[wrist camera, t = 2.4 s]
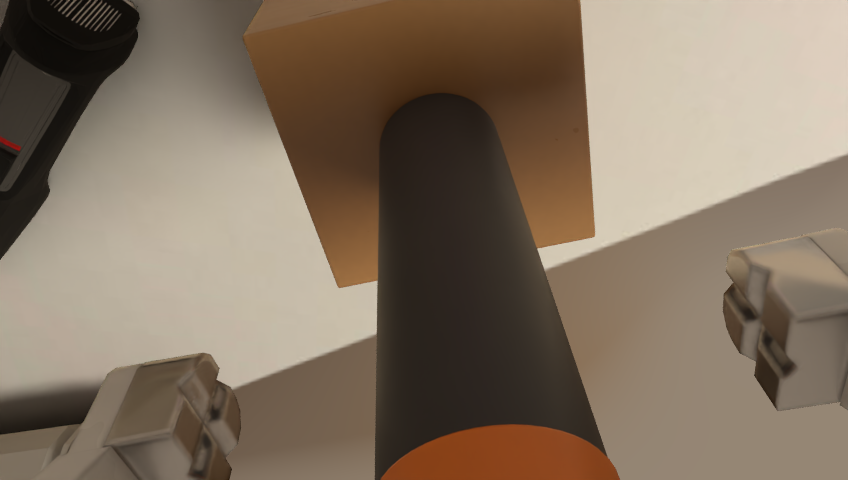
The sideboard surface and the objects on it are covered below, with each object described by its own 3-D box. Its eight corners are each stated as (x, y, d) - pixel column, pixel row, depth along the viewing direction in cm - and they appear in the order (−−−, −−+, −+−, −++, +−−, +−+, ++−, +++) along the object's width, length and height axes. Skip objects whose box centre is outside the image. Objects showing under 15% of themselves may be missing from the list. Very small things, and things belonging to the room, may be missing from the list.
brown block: (296, -56, 21) (240, 36, 13) (501, -107, 20) (578, -44, 12) (353, 129, 25) (338, 289, 17) (525, 91, 25) (595, 237, 16)
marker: (362, 105, 14) (324, 664, 5) (491, 77, 14) (694, 609, 5) (393, 212, 16) (406, 773, 7) (508, 188, 15) (682, 736, 6)
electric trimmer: (-88, 242, 27) (-137, 289, 25) (48, -56, 21) (-1, -33, 18) (2, 282, 29) (-36, 331, 26) (155, 17, 22) (124, 48, 20)
